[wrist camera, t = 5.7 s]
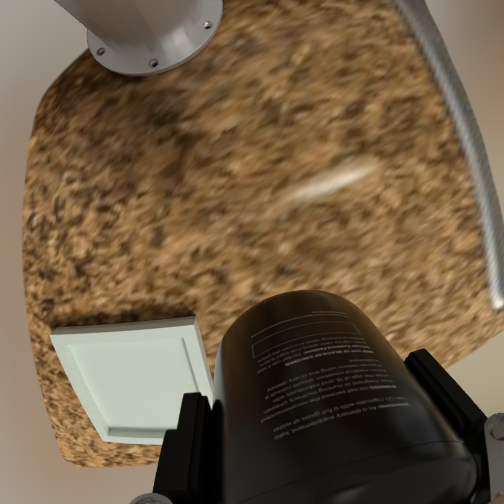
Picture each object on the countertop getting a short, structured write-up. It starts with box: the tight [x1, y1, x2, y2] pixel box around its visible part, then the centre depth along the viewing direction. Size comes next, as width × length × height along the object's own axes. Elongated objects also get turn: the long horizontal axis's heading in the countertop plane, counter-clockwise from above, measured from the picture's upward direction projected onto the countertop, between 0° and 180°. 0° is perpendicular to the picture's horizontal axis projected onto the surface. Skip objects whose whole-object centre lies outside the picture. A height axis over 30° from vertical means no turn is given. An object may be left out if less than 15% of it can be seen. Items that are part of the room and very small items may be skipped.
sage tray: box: [49, 316, 214, 445], centre depth 29 cm, size 16×16×2 cm
